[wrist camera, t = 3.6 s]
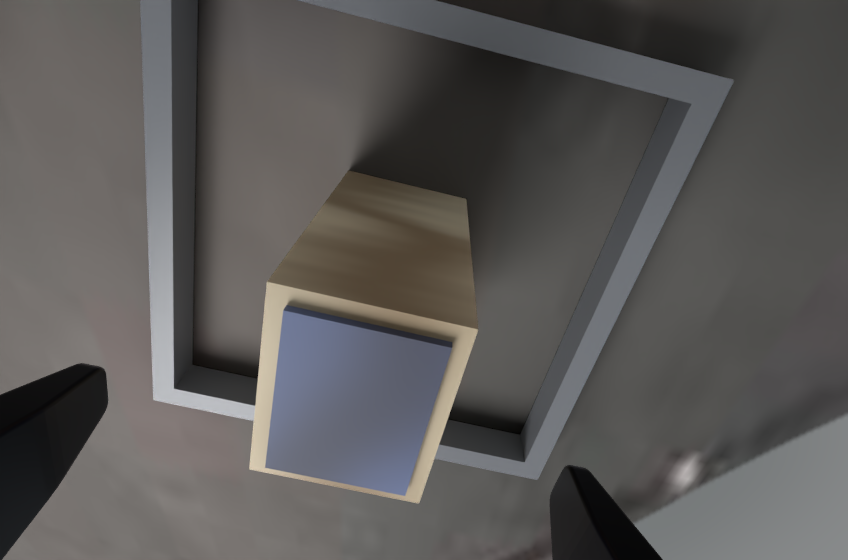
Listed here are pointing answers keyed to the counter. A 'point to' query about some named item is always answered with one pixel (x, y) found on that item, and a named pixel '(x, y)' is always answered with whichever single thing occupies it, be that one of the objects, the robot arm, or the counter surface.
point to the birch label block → (366, 339)
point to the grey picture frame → (420, 11)
